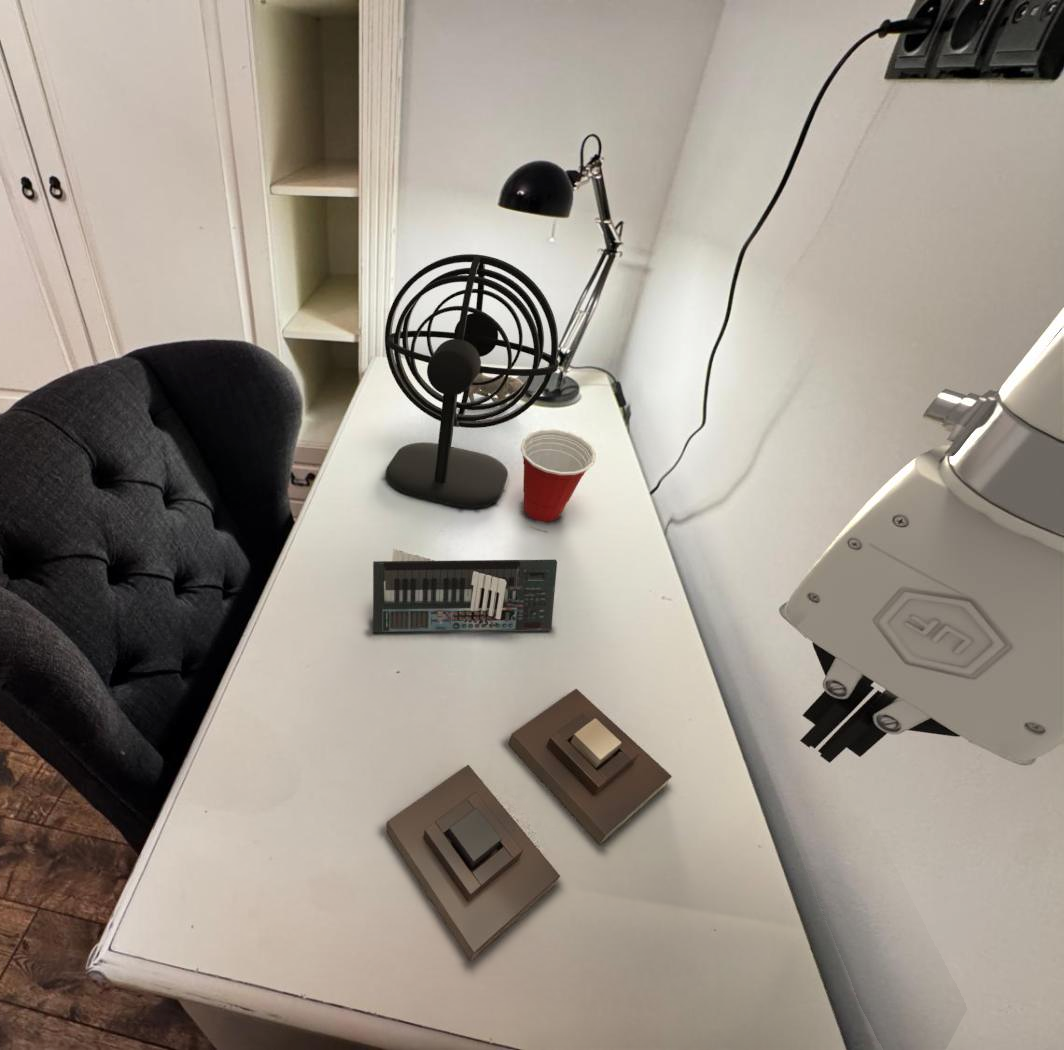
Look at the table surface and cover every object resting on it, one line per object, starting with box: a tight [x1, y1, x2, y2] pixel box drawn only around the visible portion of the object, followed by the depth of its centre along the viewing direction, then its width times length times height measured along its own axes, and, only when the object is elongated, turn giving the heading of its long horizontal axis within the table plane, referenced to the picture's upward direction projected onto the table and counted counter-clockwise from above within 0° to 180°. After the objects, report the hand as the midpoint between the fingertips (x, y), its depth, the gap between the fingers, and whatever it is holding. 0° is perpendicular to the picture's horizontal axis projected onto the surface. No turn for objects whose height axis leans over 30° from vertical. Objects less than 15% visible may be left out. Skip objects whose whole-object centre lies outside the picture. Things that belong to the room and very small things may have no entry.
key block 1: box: [385, 764, 561, 961], centre depth 51 cm, size 12×10×4 cm
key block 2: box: [508, 688, 673, 845], centre depth 58 cm, size 12×10×4 cm
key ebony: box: [448, 808, 502, 869], centre depth 49 cm, size 3×3×2 cm
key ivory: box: [570, 718, 621, 768], centre depth 56 cm, size 3×3×2 cm
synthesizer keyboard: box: [372, 548, 558, 633], centre depth 71 cm, size 22×10×10 cm
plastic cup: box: [520, 428, 597, 522], centre depth 87 cm, size 11×11×12 cm
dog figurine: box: [468, 373, 527, 408], centre depth 117 cm, size 12×6×7 cm, turn 74°
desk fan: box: [384, 253, 560, 509], centre depth 88 cm, size 27×18×35 cm, turn 67°
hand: (826, 738), depth 32 cm, fingers closed
